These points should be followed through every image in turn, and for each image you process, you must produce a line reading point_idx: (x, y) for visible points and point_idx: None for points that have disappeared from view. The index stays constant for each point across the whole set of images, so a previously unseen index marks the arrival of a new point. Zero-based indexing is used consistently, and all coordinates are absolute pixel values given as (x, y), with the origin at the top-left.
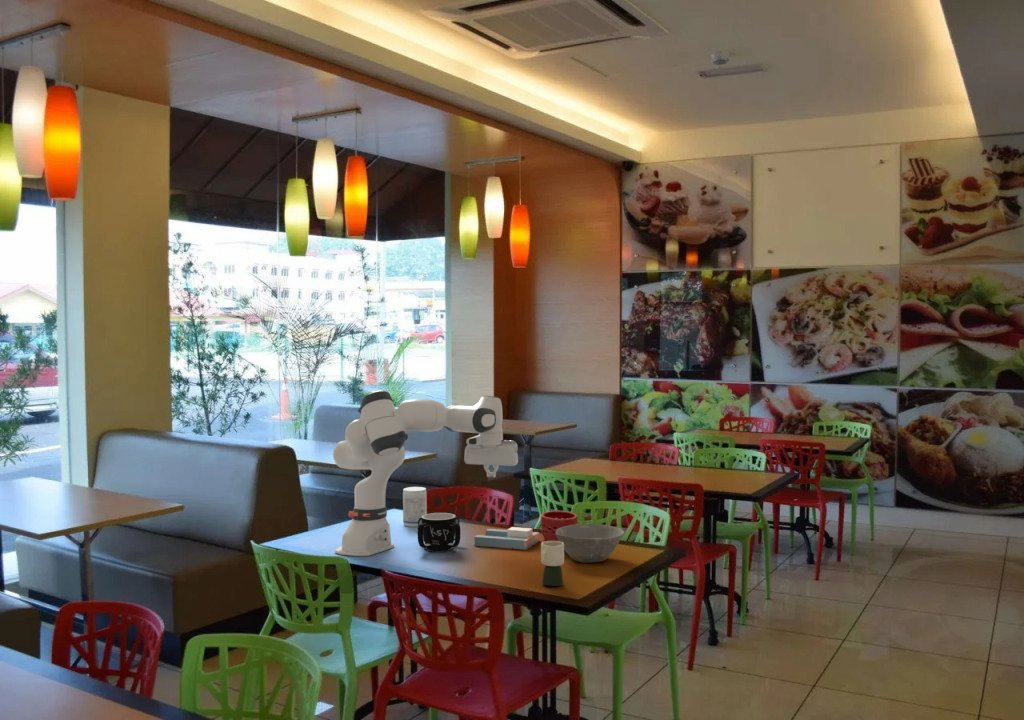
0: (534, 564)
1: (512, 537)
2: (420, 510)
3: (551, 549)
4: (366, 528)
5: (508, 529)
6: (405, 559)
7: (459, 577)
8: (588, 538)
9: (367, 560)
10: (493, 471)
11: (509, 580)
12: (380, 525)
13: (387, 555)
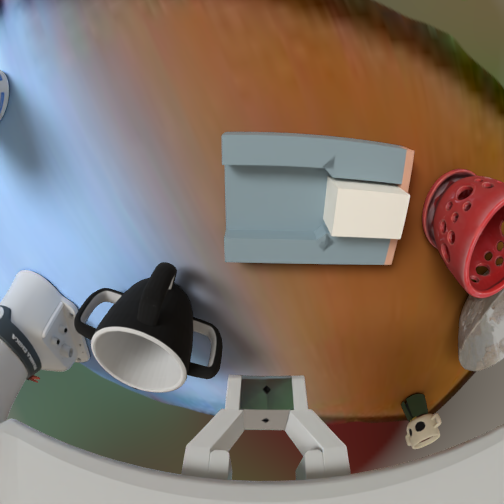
0: (398, 343)
1: (347, 240)
2: None
3: (421, 443)
4: (51, 369)
5: (334, 229)
6: None
7: None
8: (492, 365)
9: (108, 374)
10: (296, 439)
11: (360, 404)
12: (48, 352)
13: None
